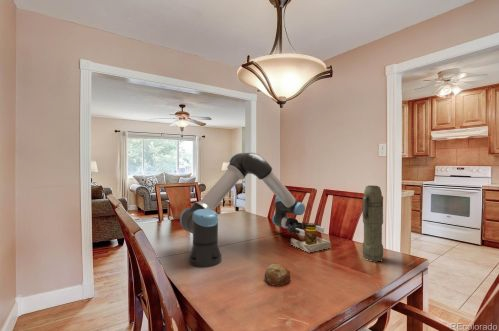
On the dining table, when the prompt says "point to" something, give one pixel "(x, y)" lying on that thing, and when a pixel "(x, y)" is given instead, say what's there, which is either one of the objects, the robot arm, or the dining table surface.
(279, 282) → the bread roll
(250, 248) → the dining table surface
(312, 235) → the condiment
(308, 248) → the u rest
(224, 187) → the robot arm
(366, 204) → the thermos
